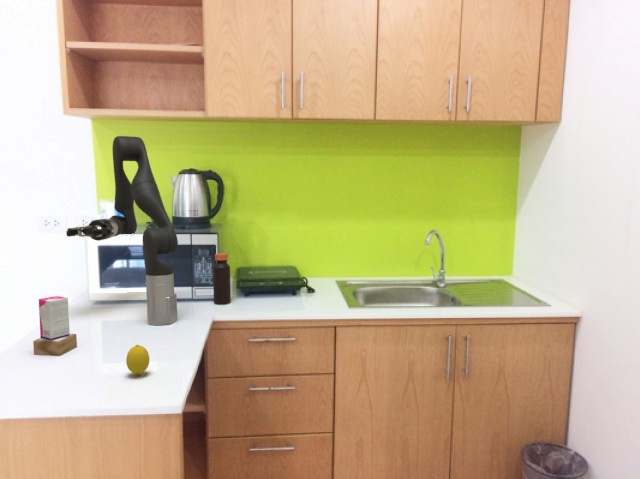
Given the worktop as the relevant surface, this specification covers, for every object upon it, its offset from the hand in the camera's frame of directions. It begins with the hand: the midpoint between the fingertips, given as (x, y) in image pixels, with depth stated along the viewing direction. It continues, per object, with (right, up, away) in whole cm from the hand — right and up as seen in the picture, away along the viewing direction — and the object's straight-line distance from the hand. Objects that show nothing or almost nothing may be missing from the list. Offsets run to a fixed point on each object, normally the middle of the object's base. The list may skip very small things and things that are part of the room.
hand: (80, 233), depth 170 cm
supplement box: (+3, -31, -22) cm, 38 cm away
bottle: (+41, -28, +36) cm, 61 cm away
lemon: (+34, -37, -40) cm, 64 cm away
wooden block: (+3, -35, -22) cm, 41 cm away
